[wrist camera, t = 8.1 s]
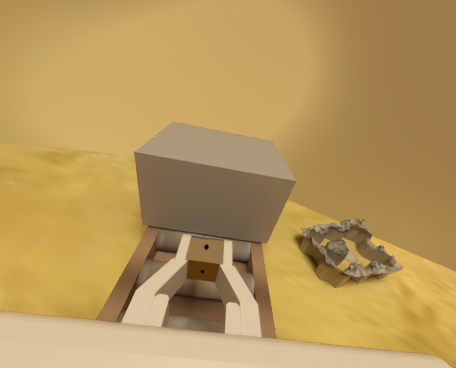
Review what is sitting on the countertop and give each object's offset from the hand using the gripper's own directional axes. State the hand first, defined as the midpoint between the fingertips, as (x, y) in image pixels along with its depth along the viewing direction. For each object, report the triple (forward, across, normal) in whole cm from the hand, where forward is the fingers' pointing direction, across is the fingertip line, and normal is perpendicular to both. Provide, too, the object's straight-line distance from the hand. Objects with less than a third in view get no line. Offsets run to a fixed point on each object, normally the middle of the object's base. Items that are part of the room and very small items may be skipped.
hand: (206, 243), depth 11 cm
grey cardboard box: (+10, 0, +5) cm, 12 cm away
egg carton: (+8, -18, +9) cm, 21 cm away
